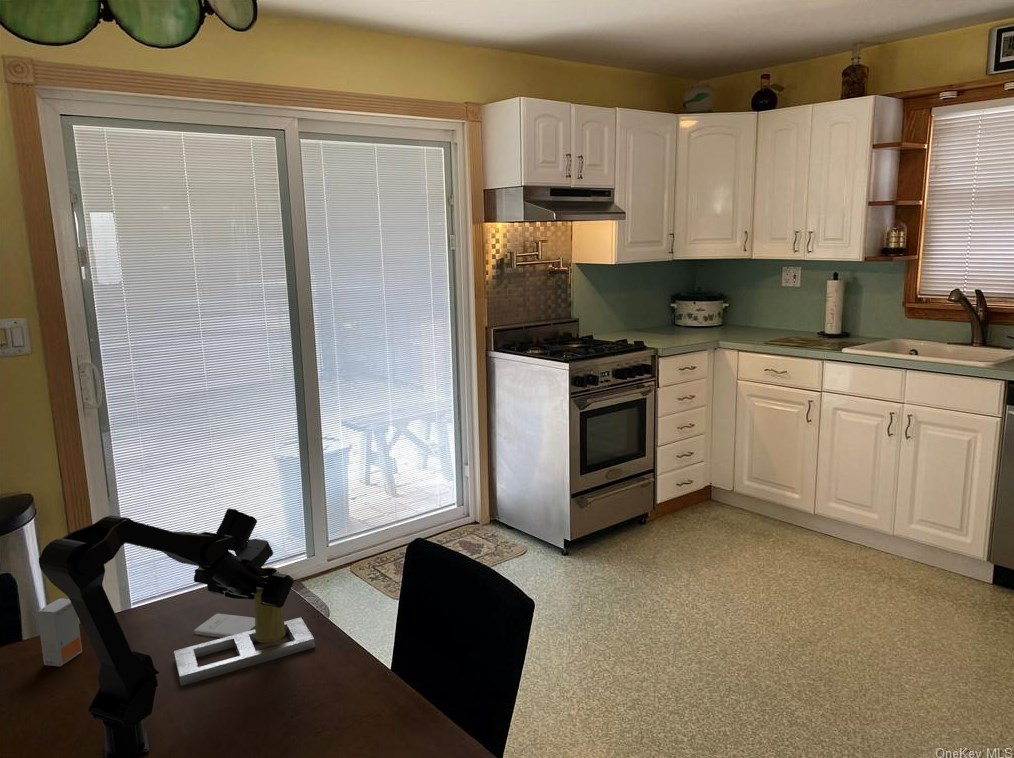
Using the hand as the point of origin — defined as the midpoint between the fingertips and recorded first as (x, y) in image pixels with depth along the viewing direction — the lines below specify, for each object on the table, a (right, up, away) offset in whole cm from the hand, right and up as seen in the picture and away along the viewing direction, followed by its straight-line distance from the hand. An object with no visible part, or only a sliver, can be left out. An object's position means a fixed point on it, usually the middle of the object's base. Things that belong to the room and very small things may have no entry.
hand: (272, 599), depth 155 cm
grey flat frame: (-5, -11, -2) cm, 12 cm away
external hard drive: (-12, -10, +9) cm, 18 cm away
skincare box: (-43, -12, -1) cm, 45 cm away
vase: (0, -8, 0) cm, 8 cm away
